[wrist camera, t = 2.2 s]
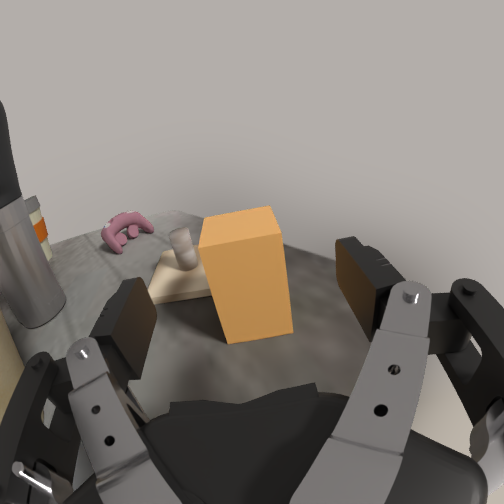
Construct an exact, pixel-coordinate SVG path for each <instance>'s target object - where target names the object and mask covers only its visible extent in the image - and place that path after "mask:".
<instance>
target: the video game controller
mask: <svg viewBox="0 0 504 504" xmlns="http://www.w3.org/2000/svg"><path fill="white" fill-rule="evenodd" d="M126 227H127V235H128V236H129V237H130V238H131V239H134V238H136V237H137V236H138V234H139V231H138V228H141V229H143V230H144V231H146V232H148V233H153V232H154V228H153V226H152V224H151V223H150V222H149V221H148V220H147V219H145V218H144V217H143V216H142V215H141V214H140V213H138V212H134V211H133V210H130V211H128V212H125V213H121V214H118V215H117V216H115V217H114V218H112V219H111V220H110V221H109V222H108V223H107V224H106V225H105V226H104V228H103V230H102V232H101V237H102V239H103V240H104V241H105V242H106V243H107V244H108V245H109V247H110V248H111V249H112V250H113V251H114V252H116V253H118V254H122V247H121V246H123V245H124V244H125V243H126V242H127V237H126V236H125V235H124V234H123V233H120V231H121V230H122V229H124V228H126Z"/></svg>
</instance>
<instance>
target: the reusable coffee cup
mask: <svg viewBox="0 0 504 504" xmlns="http://www.w3.org/2000/svg"><path fill="white" fill-rule="evenodd" d="M24 202H25V205H26V208H27V211H28V214H29V216H30V219H31V222H32V224H33V227H34V229H35V232H36V234H37V237H38V239H39V242H40V244H41V246H42V249H43V251H44V253H45V255H46V258H47V260H48V261H49V260H50V258H51V257H52V252H51V249H50V245H49V242H48V238H47V235H48V233H47V229H46V225H45V222H44V218H43V217H42V216H41V212H40V204H39V202H38V199H37V197H36V196H33V197H30V198H28V199H26V200H24Z"/></svg>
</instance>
